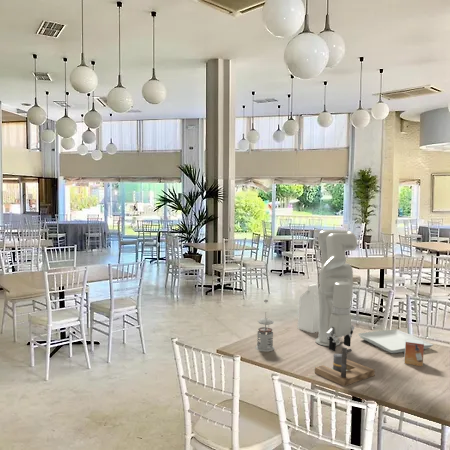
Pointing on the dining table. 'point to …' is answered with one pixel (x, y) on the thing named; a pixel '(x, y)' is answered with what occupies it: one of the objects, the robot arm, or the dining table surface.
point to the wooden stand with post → (346, 371)
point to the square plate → (391, 340)
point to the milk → (309, 310)
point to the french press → (265, 340)
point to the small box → (414, 352)
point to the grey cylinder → (337, 362)
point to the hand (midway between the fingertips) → (339, 347)
